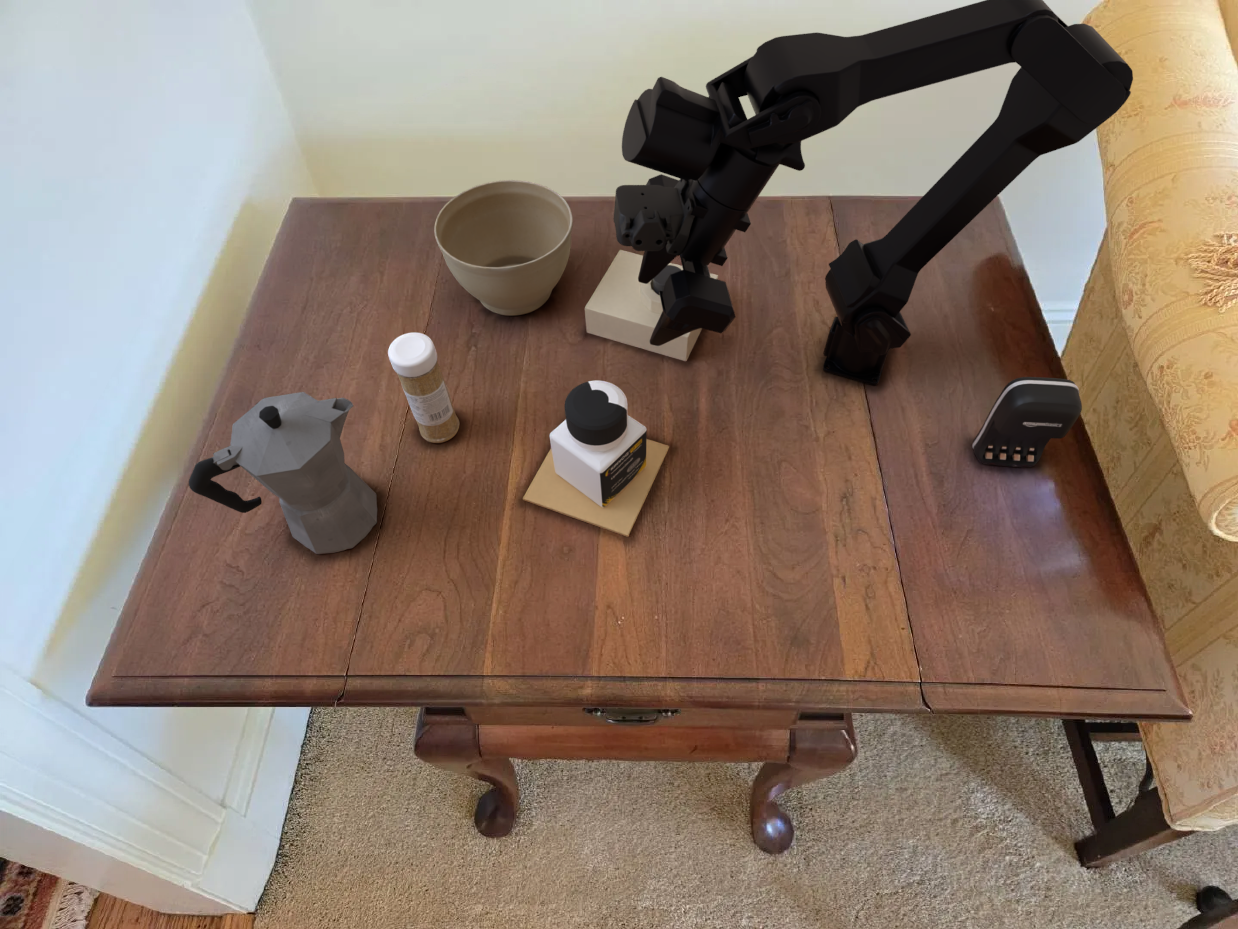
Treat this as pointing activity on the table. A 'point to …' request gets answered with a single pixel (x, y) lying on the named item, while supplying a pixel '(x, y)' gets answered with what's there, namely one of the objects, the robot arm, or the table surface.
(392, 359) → the sprinkles bottle
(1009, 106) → the robot arm
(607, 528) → the cork mat
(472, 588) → the table surface
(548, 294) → the planter bowl
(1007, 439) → the battery charger
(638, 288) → the push button box
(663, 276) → the power button
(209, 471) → the coffeepot
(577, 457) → the medicine bottle
